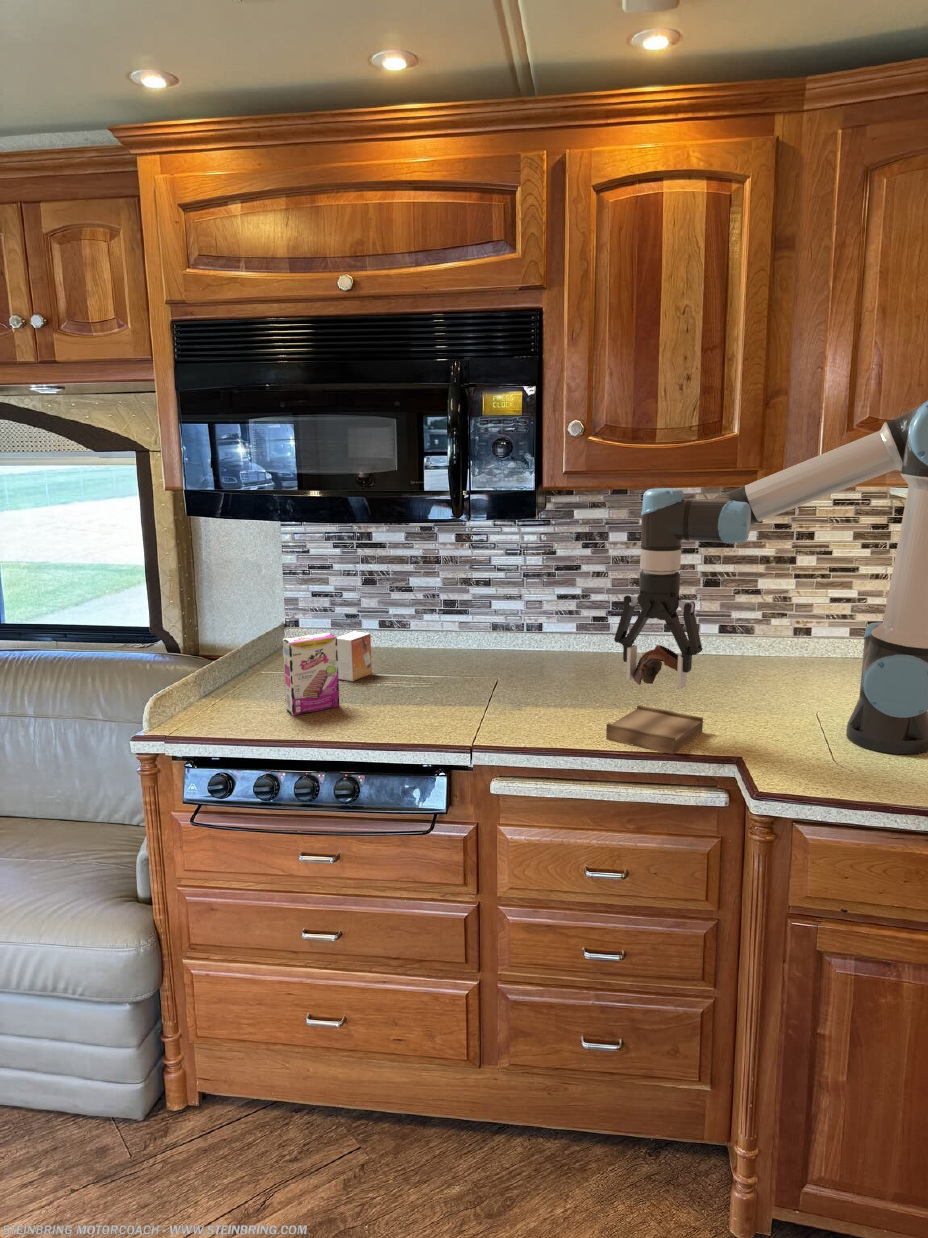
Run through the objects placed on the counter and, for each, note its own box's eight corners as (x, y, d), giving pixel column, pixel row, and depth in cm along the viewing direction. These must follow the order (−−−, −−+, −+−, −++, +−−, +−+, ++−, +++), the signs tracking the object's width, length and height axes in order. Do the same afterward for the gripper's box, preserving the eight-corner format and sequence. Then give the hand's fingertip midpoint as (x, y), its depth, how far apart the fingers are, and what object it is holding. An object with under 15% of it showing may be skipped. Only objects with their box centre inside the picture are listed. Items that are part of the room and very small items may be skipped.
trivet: (702, 732, 175) (703, 717, 174) (672, 754, 164) (673, 738, 163) (638, 719, 183) (638, 705, 182) (606, 739, 172) (606, 724, 171)
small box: (352, 682, 212) (350, 640, 210) (335, 679, 215) (332, 637, 213) (372, 673, 219) (371, 633, 217) (355, 670, 222) (353, 630, 220)
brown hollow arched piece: (638, 674, 179) (660, 641, 177) (676, 702, 174) (699, 668, 172) (617, 674, 168) (640, 639, 166) (656, 704, 164) (681, 668, 162)
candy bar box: (293, 716, 189) (288, 643, 185) (285, 710, 193) (280, 638, 189) (341, 707, 194) (337, 635, 191) (332, 701, 198) (328, 631, 195)
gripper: (725, 573, 162) (718, 688, 167) (616, 562, 175) (613, 668, 181) (709, 579, 156) (703, 698, 161) (597, 567, 170) (595, 677, 175)
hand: (655, 682), depth 171 cm, fingers closed on brown hollow arched piece, 10 cm apart
